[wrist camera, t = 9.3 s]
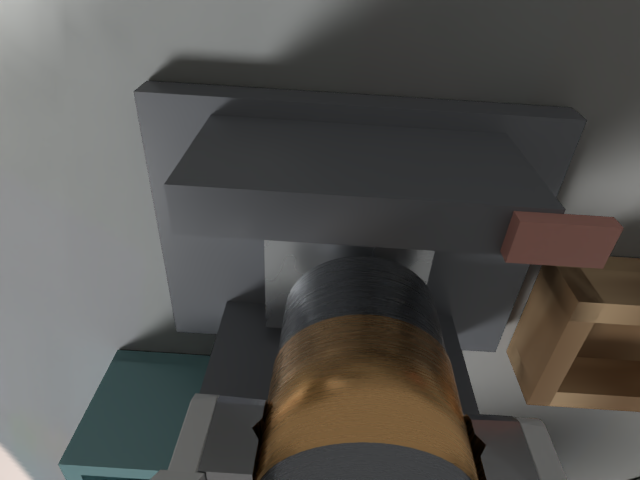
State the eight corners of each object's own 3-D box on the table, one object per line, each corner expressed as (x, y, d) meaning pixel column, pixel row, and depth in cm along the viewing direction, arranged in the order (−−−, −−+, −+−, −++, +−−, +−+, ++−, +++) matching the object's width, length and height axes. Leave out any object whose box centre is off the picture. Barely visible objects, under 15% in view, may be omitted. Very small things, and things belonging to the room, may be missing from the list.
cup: (310, 362, 19) (302, 479, 15) (304, 466, 24) (297, 578, 20) (117, 349, 19) (58, 464, 15) (148, 456, 24) (109, 566, 20)
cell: (422, 372, 13) (488, 763, 7) (282, 362, 13) (227, 740, 7) (452, 260, 11) (589, 691, 5) (283, 248, 11) (202, 661, 5)
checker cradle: (571, 107, 13) (691, 204, 9) (488, 332, 18) (536, 466, 14) (146, 80, 13) (45, 163, 9) (184, 313, 18) (133, 440, 14)
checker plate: (438, 190, 13) (445, 208, 12) (410, 314, 16) (414, 336, 15) (267, 179, 13) (263, 197, 12) (269, 306, 16) (266, 327, 15)
